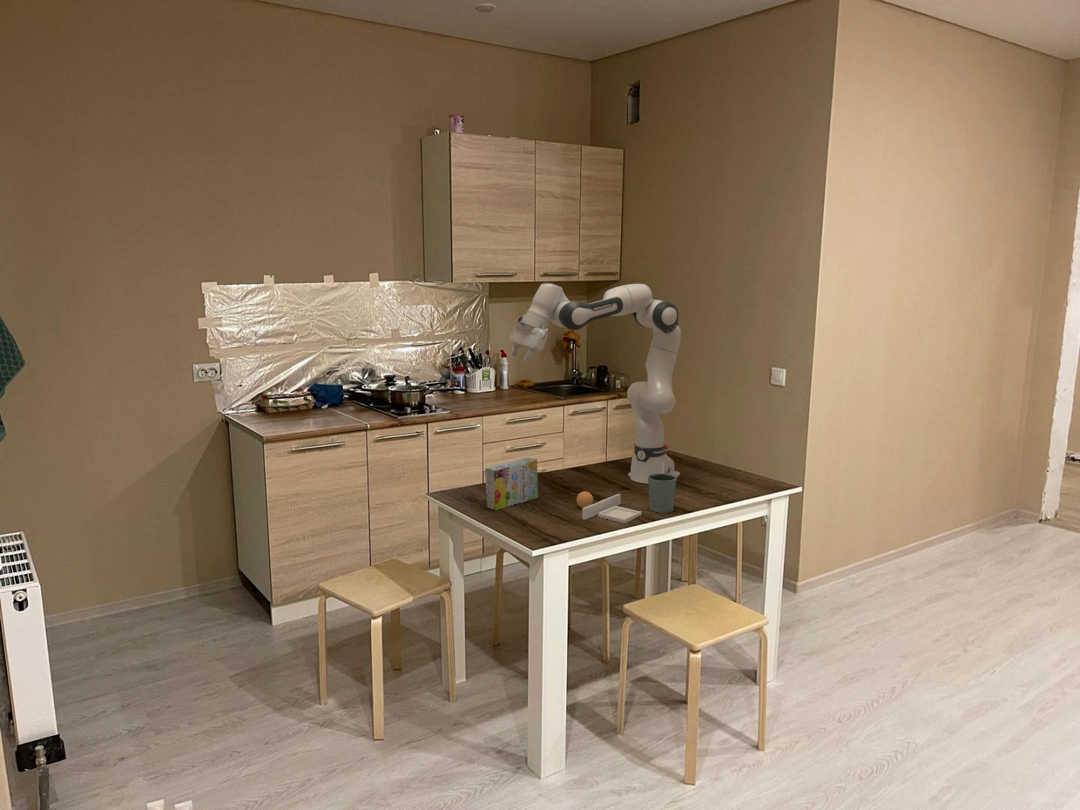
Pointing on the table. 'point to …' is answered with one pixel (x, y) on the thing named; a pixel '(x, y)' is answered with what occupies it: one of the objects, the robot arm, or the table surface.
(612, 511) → the square tray
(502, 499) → the snack box
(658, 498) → the grey green cup
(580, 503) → the ball
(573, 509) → the table surface
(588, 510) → the low wall
